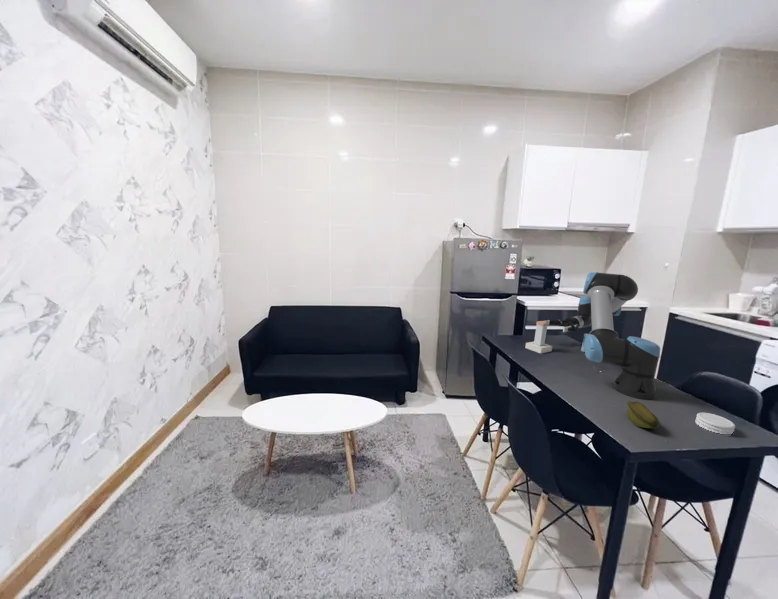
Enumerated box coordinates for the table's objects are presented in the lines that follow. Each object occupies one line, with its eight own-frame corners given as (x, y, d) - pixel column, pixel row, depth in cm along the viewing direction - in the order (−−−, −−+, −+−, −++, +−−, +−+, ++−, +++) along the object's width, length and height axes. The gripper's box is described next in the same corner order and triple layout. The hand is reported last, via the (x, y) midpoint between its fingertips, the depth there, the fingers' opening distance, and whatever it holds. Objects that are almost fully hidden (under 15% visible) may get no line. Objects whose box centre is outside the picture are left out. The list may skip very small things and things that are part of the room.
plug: (544, 350, 193) (548, 322, 190) (539, 351, 191) (543, 323, 188) (537, 347, 197) (541, 320, 194) (532, 348, 195) (536, 321, 192)
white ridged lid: (714, 421, 126) (717, 412, 125) (741, 437, 116) (744, 428, 115) (687, 419, 126) (689, 411, 125) (711, 435, 116) (714, 426, 115)
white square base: (551, 352, 193) (552, 346, 192) (540, 355, 187) (541, 348, 187) (535, 347, 201) (536, 340, 200) (525, 349, 196) (526, 342, 195)
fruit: (615, 420, 122) (619, 403, 121) (628, 411, 129) (632, 395, 128) (654, 436, 113) (658, 418, 112) (665, 426, 120) (669, 408, 119)
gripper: (593, 334, 198) (572, 339, 187) (554, 323, 219) (533, 327, 208) (595, 322, 196) (574, 326, 185) (555, 312, 217) (534, 315, 206)
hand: (552, 326), depth 196 cm, fingers open, 13 cm apart
